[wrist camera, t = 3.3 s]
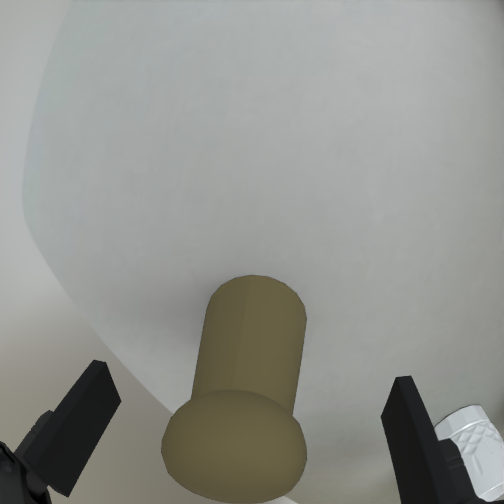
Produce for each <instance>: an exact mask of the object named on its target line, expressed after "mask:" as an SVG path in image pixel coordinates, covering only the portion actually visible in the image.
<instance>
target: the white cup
mask: <svg viewBox="0 0 504 504" xmlns="http://www.w3.org/2000/svg"><path fill="white" fill-rule="evenodd" d="M434 430H435V433H436V435H437V438H438V440H443V439H447V438H450V439H451V440H452V441H453V442H454V443H455V444H456V445H457V446H458V448H459V451H460V453H461V458H463V461H464V463H465V464H464V466H466V469H467V471H468V474H469V477H470V479H471V482H472V485H473V488H474V491H475V493H476V495H477V496H478V497H479V498H482V499H484V500H485V501H487V502H491V501H494V500H495V499H497V498H498V497H499V496H501V495H502V494H504V440H503V439H502V437H501V435H500V434H499V432H498V431H497V429H496V428H495V426H494V424H492V423H491V422H490V420H489V419H488V417H487V416H486V414H485V412H484V411H483V409H482V407H481V406H477V405H471V406H468V407H465V408H462V409H460V410H458V411H456V412H454V413H453V414H451V415H449V416H448V417H446V418H445V419H444V420H442V421H441V422H440V423H439V424H438V425H436V426H435V427H434Z"/></svg>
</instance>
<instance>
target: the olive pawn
mask: <svg viewBox="0 0 504 504" xmlns="http://www.w3.org/2000/svg"><path fill="white" fill-rule="evenodd" d="M306 321H307V318H306V313H305V308H304V305H303V303H302V301H301V300H300V298H299V297H298V295H297V293H296V292H294V291H293V290H292V289H291V288H289V287H288V286H287V285H286V284H285V283H283V282H280V281H278V280H275V279H273V278H270V277H265V276H256V275H249V276H244V277H239V278H234V279H233V280H231V281H229V282H227V283H225V284H223V285H221V286H220V287H219V289H218V290H217V291H216V292H215V293H214V294H213V295H212V296H211V299H210V302H209V304H208V307H207V310H206V315H205V321H204V326H203V332H202V337H201V343H200V348H199V354H198V360H197V365H196V371H195V377H194V383H193V389H192V395H191V400H189V401H188V402H186V403H185V404H184V405H183V406H181V407H180V408H179V409H178V410H177V411H176V412H175V414H174V415H173V416H172V417H171V419H170V421H169V423H168V426H167V428H166V431H165V433H164V436H163V439H162V448H161V453H162V456H163V459H164V463H165V466H166V468H167V471H168V473H169V474H170V476H171V477H172V478H173V479H175V481H177V482H178V483H179V484H180V485H181V486H183V487H184V488H186V489H188V490H189V491H191V492H193V493H195V494H198V495H200V496H202V497H205V498H208V499H212V500H216V501H220V502H227V503H234V504H253V503H262V502H267V501H270V500H273V499H276V498H279V497H281V496H283V495H285V494H286V493H288V492H289V491H291V490H292V489H293V487H294V486H295V485H296V484H297V482H298V481H299V480H300V477H301V475H302V473H303V471H304V468H305V464H306V461H307V449H306V443H305V439H304V435H303V432H302V430H301V427H300V424H299V423H298V422H297V420H296V419H295V418H294V417H293V416H292V415H293V409H294V403H295V397H296V391H297V385H298V378H299V372H300V365H301V358H302V351H303V344H304V336H305V329H306Z"/></svg>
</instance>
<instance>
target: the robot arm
mask: <svg viewBox="0 0 504 504" xmlns="http://www.w3.org/2000/svg"><path fill="white" fill-rule="evenodd" d="M120 403H121V399H120V397H119V394H118V392H117V389H116V387H115V385H114V382H113V379H112V377H111V374H110V372H109V369H108V366H107V364H106V362H102V361H97V360H93V361H92V362H91V364H90V365H89V366H88V368H87V369H86V370H85V371H84V373H83V374H82V375H81V376H80V378H79V379H78V380H77V381H76V383H75V384H74V385H73V387H72V388H71V389H70V391H69V392H68V393H67V395H66V396H65V397H64V399H63V400H62V401H61V403H60V404H59V405H58V407H57V408H56V409H55V411H54V412H53V411H50V410H49V411H47V412H45V413H44V414H43V415H41V416H40V418H39V419H38V420H37V422H36V423H35V425H34V426H33V427H32V428H31V431H29V433H28V434H27V435H26V436H25V438H24V439H23V441H22V442H21V444H20V445H19V446H18V448H17V449H16V450H15V452H14V453H12V452H11V450H10V449H9V448H8V447H7V446H6V444H5V443H3V442H1V441H0V504H52V502H51V498H50V494H49V491H48V489H47V486H48V485H49V486H50V487H51V488H52V489H54V490H55V491H56V492H58V493H60V494H62V495H64V496H66V497H69V495H70V493H71V491H72V489H73V488H74V486H75V484H76V482H77V479H78V478H79V476H80V474H81V472H82V470H83V469H84V467H85V465H86V463H87V461H88V459H89V458H90V456H91V454H92V452H93V451H94V449H95V447H96V445H97V443H98V442H99V440H100V438H101V436H102V434H103V433H104V431H105V429H106V427H107V425H108V424H109V422H110V420H111V418H112V417H113V415H114V413H115V412H116V410H117V408H118V406H119V405H120ZM381 420H382V424H383V427H384V431H385V435H386V439H387V443H388V446H389V450H390V454H391V459H392V463H393V467H394V471H395V476H396V480H397V485H398V489H399V494H400V499H401V504H504V500H499V501H491V502H487V501H485V500H484V499H482V498H479V497H478V496H477V495H476V493H475V491H474V488H473V485H472V482H471V479H470V477H469V474H468V471H467V469H466V466H464V464H465V463H464V461H463V458H461V453H460V451H459V448H458V446H457V445H456V444H455V443H454V442H453V441H452V440H451V439H450V438H447V439H443V440H438V438H437V435H436V433H435V430H434V428H433V425H432V423H431V420H430V418H429V415H428V413H427V411H426V408H425V406H424V403H423V401H422V399H421V397H420V394H419V392H418V390H417V388H416V385H415V383H414V381H413V379H412V377H411V376H403V377H396V378H395V381H394V384H393V387H392V389H391V392H390V395H389V397H388V400H387V402H386V405H385V407H384V410H383V412H382V415H381Z"/></svg>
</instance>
